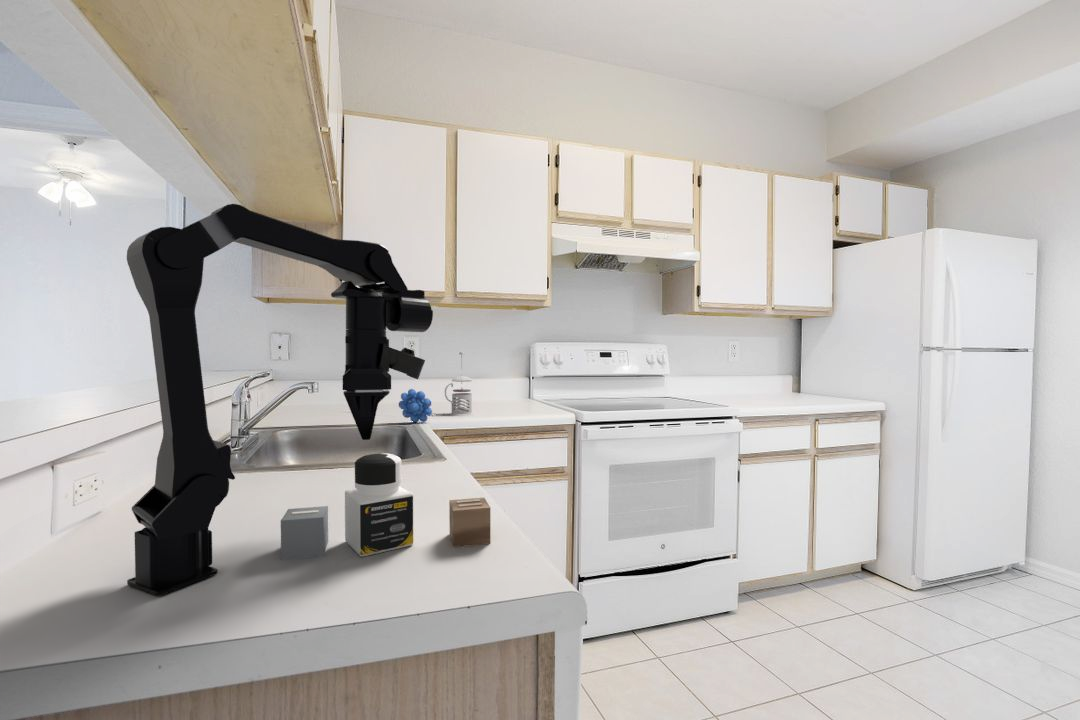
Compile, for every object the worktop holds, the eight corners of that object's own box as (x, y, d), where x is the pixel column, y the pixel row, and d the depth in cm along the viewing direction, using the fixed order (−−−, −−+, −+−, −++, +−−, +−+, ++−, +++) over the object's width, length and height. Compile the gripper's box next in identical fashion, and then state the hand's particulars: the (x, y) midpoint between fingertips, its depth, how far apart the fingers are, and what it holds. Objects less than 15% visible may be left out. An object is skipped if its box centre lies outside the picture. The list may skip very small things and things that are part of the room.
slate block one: (323, 555, 68) (323, 516, 67) (281, 560, 66) (280, 519, 66) (328, 542, 72) (327, 504, 72) (288, 545, 71) (288, 507, 71)
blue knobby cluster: (396, 424, 181) (396, 390, 181) (399, 422, 188) (399, 388, 188) (430, 424, 182) (430, 389, 182) (433, 421, 189) (432, 388, 189)
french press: (472, 416, 204) (472, 351, 204) (442, 416, 204) (442, 351, 204) (476, 412, 214) (475, 351, 213) (447, 412, 214) (447, 351, 214)
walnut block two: (490, 544, 72) (490, 506, 72) (453, 547, 70) (453, 509, 70) (484, 531, 76) (484, 496, 76) (449, 534, 75) (449, 499, 75)
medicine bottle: (360, 558, 67) (359, 463, 66) (344, 541, 72) (343, 454, 72) (414, 545, 71) (413, 457, 70) (394, 530, 77) (394, 448, 76)
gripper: (429, 329, 72) (428, 442, 73) (414, 333, 90) (414, 424, 90) (342, 327, 69) (342, 446, 69) (345, 331, 86) (344, 427, 86)
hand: (365, 434), depth 79 cm, fingers open, 9 cm apart
